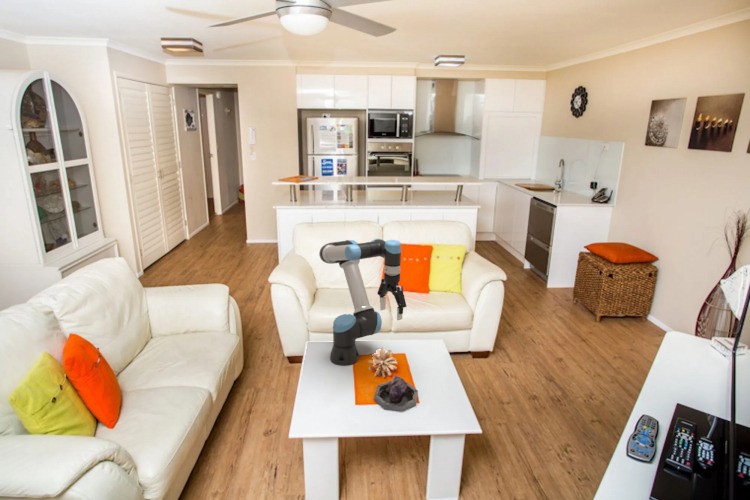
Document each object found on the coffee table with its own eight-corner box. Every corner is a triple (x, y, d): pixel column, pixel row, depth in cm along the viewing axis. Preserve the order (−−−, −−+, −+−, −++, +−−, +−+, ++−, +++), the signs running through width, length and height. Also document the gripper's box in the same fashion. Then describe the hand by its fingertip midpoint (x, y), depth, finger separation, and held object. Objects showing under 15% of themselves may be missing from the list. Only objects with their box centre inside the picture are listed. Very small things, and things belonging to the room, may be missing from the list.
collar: (367, 394, 205) (367, 389, 204) (399, 381, 216) (400, 376, 215) (391, 416, 190) (391, 411, 189) (425, 401, 201) (425, 396, 200)
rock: (386, 406, 198) (408, 406, 197) (386, 391, 194) (409, 391, 194) (386, 387, 208) (407, 387, 208) (386, 373, 205) (407, 373, 204)
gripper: (370, 267, 216) (370, 307, 222) (402, 282, 197) (400, 325, 203) (383, 264, 220) (382, 304, 226) (415, 279, 201) (413, 322, 207)
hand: (390, 314), depth 214 cm, fingers open, 13 cm apart
